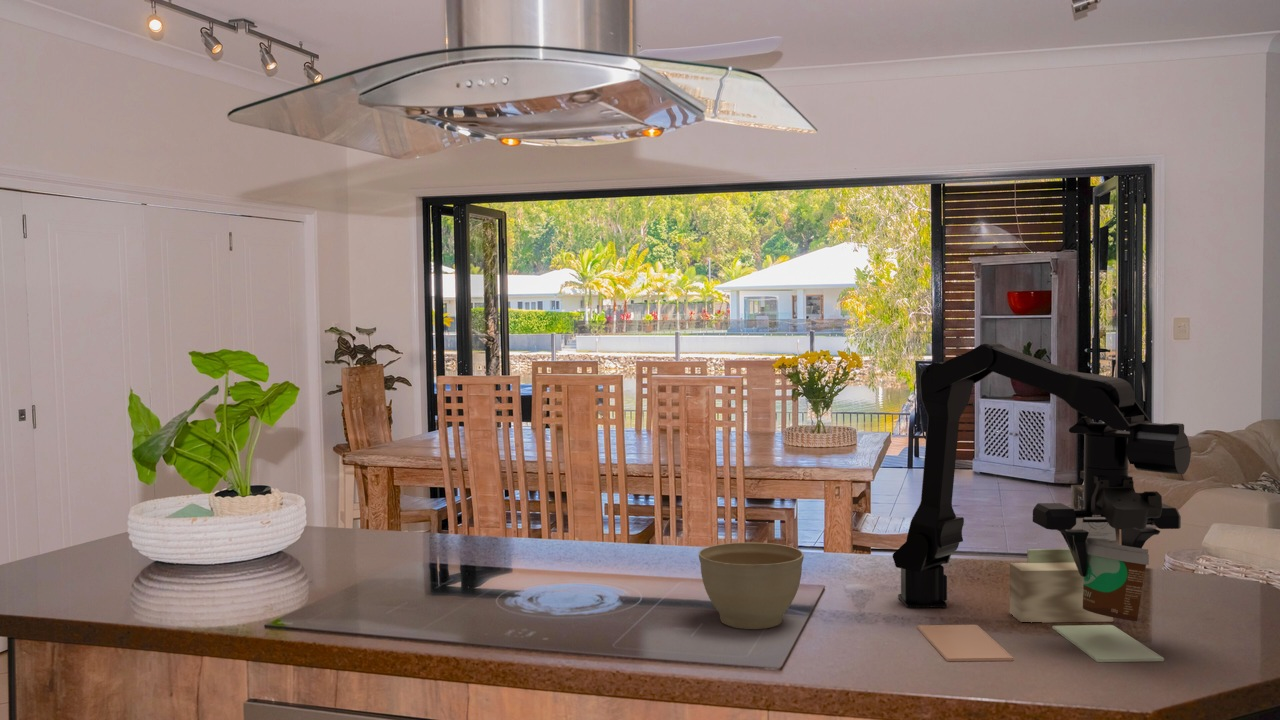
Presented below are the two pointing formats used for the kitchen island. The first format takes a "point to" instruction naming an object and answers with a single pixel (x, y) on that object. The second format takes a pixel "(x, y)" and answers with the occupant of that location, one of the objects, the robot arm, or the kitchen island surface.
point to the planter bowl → (751, 582)
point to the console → (1049, 589)
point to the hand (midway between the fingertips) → (1104, 576)
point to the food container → (1113, 579)
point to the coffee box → (1093, 528)
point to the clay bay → (964, 643)
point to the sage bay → (1107, 643)
